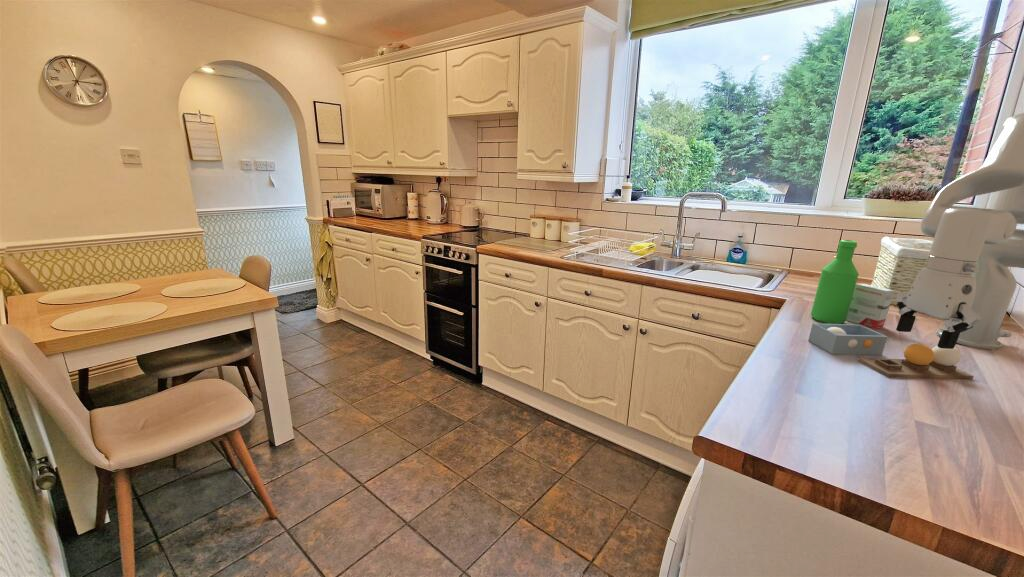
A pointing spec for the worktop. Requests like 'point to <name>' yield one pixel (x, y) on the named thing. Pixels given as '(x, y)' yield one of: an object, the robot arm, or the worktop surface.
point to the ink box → (869, 305)
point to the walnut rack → (914, 369)
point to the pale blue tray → (848, 339)
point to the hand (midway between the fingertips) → (923, 339)
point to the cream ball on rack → (946, 356)
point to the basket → (900, 264)
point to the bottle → (836, 286)
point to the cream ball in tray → (837, 330)
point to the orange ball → (919, 354)
